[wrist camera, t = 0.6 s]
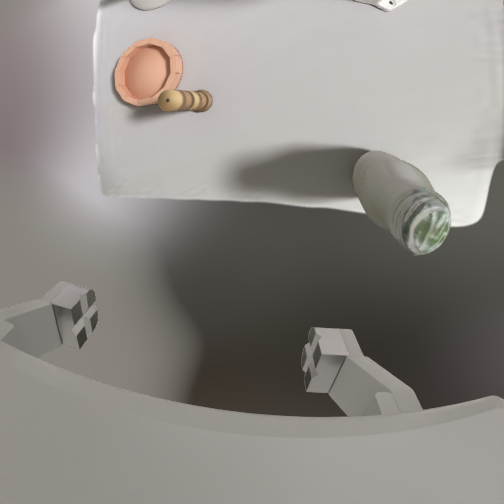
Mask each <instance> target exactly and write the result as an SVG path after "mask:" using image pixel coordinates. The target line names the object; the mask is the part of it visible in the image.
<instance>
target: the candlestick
mask: <svg viewBox="0 0 504 504" xmlns="http://www.w3.org/2000/svg"><path fill="white" fill-rule="evenodd" d="M130 1H131V3H132V4H133V5H134V6H135V7H137V8H139V9H142V10H153V9H157V8H159V7H162V6H164V5H166V4H167V3H169V2H170V1H171V0H130Z"/></svg>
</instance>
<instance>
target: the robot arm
mask: <svg viewBox="0 0 504 504" xmlns="http://www.w3.org/2000/svg"><path fill="white" fill-rule="evenodd" d="M355 1H358V2H362V3H368V4H372V5H375V6H376V7H378V8H380V9H382V10H384V11H388V12H389V11H392V10H394V9H395V8H397V7H398V6H400V5H402V4H404V3H405V2H407V1H409V0H355ZM389 2H391V3H392V4H393V5H392V4H390V3H389ZM95 301H96V297H95V292H94V291H93V290H92V289H89V288H85V287H82V286H78V285H74V284H71V283H67V282H59V283H58V284H57V285H56V286H54V287H53V288H52V289H51V290H50V291H49V292H48V293H47V294H45V295H44V296H43V297H42V298H41V299H40V300H38V299H35V300H31V301H28V302H25V303H22V304H18V305H15V306H12V307H8V308H5V309H1V310H0V504H504V399H501V398H500V397H498V396H489V397H484V398H481V399H477V400H473V401H468V402H464V403H459V404H455V405H450V406H444V407H439V408H433V409H427V410H422V408H421V405H420V403H419V401H418V399H417V397H416V395H415V393H414V391H413V389H411V388H410V387H408V386H407V385H406V384H404V383H403V382H401V381H400V380H399V379H397V378H396V377H394V376H393V375H392V374H390V373H389V372H388V371H386V370H385V369H383V368H382V367H381V366H379V365H378V364H377V363H375V362H374V361H372V360H371V359H370V358H368V357H364V356H363V354H362V351H361V350H360V347H359V345H358V342H357V340H356V338H355V336H354V333H353V331H352V330H350V329H330V328H317V327H312V328H311V330H310V332H309V335H308V338H309V343H308V344H306V345H305V347H304V350H303V354H302V369H303V371H305V373H306V374H305V377H304V381H305V387H306V391H307V392H321V393H329V395H330V396H331V397H332V399H333V400H334V401H335V402H336V403H337V404H338V405H339V407H340V408H341V409H342V410H343V411H344V412H345V413H346V414H347V415H348V417H291V416H289V417H288V416H274V415H261V414H251V413H241V412H233V411H226V410H219V409H212V408H206V407H200V406H194V405H189V404H184V403H179V402H174V401H168V400H164V399H160V398H155V397H151V396H147V395H143V394H139V393H135V392H132V391H128V390H124V389H121V388H117V387H114V386H111V385H107V384H105V383H101V382H98V381H95V380H92V379H89V378H87V377H84V376H81V375H78V374H75V373H73V372H70V371H67V370H65V369H62V368H59V367H57V366H55V365H52V364H50V363H47V362H45V361H43V360H40V359H38V358H40V357H42V356H43V355H45V354H47V353H49V352H50V351H52V350H54V349H56V348H58V347H59V346H61V345H62V344H64V345H66V346H70V347H73V348H76V349H80V348H81V347H82V346H83V344H84V343H85V342H86V340H87V334H89V333H92V332H93V331H94V329H95V327H96V325H97V322H98V311H97V309H96V307H95V306H94V304H93V303H94V302H95Z"/></svg>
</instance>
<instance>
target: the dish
mask: <svg viewBox="0 0 504 504" xmlns="http://www.w3.org/2000/svg"><path fill="white" fill-rule="evenodd" d="M115 71H116V72H115V87H116V90H117V91H118V93H119V94H120V96H121V97H122V99H123V100H124V101H126V102H128V103H131V104H133V105H136V106H145V105H151V104H156V103H158V97H159V95H160V94H161V93H162V92H163V91H164V90H168V89H171V90H176V88H177V87H178V85H179V83H180V80H181V77H182V73H183V62H182V58H181V56H180V54H179V52H178V51H177V49H176V48H175V47H173V46H172V45H171V44H170V43H167V42H164V41H161V40H157V39H154V38H148V39H145V40H141V41H138V42H135V43H134V44H132V45H131V46H130V47H129V48H128V49H127V50H126V51H125V52H124V53H123V54H122V56H121V57H120V59H119V62H118V64H117V67H116V69H115Z"/></svg>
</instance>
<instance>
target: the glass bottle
mask: <svg viewBox="0 0 504 504" xmlns="http://www.w3.org/2000/svg"><path fill="white" fill-rule="evenodd" d="M352 181H353V187H354V190H355V193H356V194H357V196H358V198H359V200H360V202H361V205H362V206H363V208H364V210H365V212H366V214H367V215H368V217H369V218H370V219H371V220H372V221H373V222H374V223H376V224H377V225H379V226H380V227H382V228H384V229H387V230H389V231H390V232H392V234H393V235H394V237H395V239H396V240H397V241H398V242H399V243H400V244H401V245H402V246H404V247H405V248H406V249H407V250H408V251H410V252H411V253H413V255H414V256H415V255H424V254H428V253H430V252H432V251H433V250H435V249H437V248H438V247H439V246H440V245H441V244H442V243H443V242H444V240H445V239H446V237H447V235H448V233H449V230H450V226H451V212H450V208H449V205H448V203H447V202H446V200H445V199H444V198H443V197H442V196H441V195H440V194H438V193H437V192H435V191H434V189H433V187H432V185H431V183H430V181H429V180H428V178H427V177H426V175H425V174H424V173H423V172H422V171H420V170H419V169H418V168H416V167H415V166H413V165H411V164H409V163H407V162H405V161H403V160H400V159H399V158H397V157H395V156H393V155H391V154H388V153H385V152H382V151H370V152H367V153H365V154H363V155H362V156H361V157H360V158H359V159H358V161H357V163H356V165H355V167H354V170H353V177H352Z"/></svg>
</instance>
